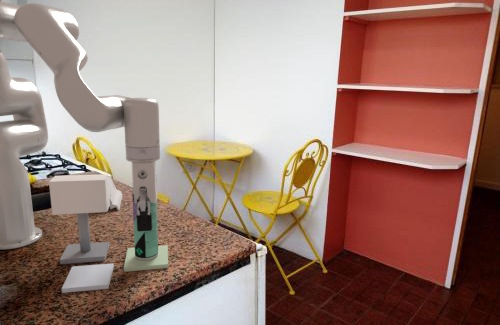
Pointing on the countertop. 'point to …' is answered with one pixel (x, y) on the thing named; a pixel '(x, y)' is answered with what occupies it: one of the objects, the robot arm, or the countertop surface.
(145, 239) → the spray can
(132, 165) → the robot arm
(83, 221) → the mounted unit
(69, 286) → the grey square tile
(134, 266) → the green tile
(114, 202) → the white bevelled plastic case
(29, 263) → the countertop surface
